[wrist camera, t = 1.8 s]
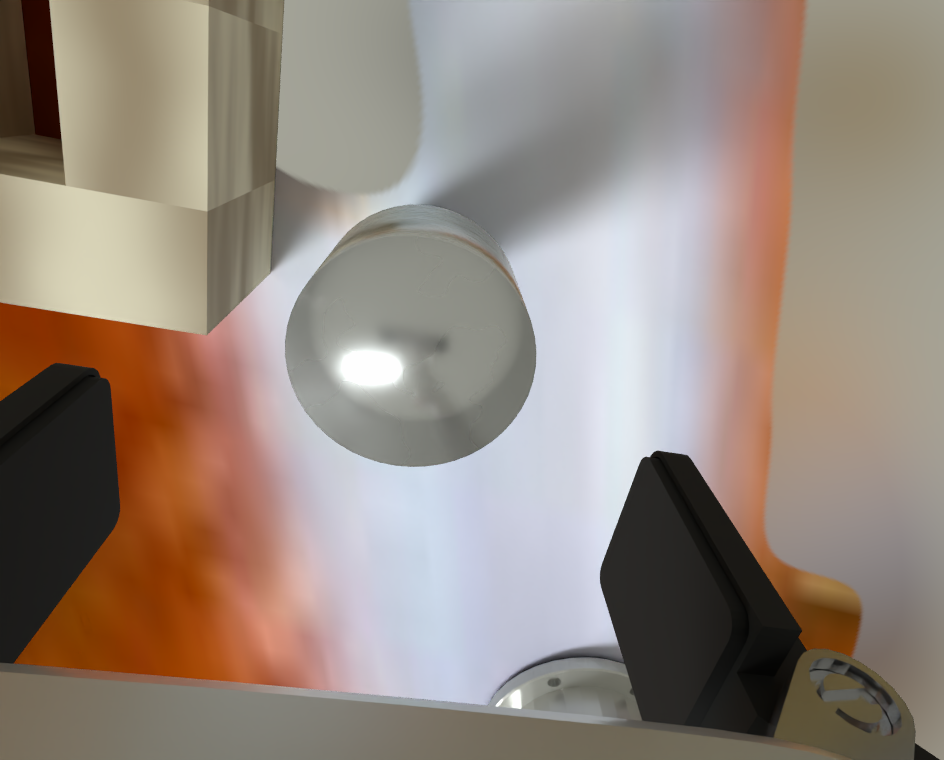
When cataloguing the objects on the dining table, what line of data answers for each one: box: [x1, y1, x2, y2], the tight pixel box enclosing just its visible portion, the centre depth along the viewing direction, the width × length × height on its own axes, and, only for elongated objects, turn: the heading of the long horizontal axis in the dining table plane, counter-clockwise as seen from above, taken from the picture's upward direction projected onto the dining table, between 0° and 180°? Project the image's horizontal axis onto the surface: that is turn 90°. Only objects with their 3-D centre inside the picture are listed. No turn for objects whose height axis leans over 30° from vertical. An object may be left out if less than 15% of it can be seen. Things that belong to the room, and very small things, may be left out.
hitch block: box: [0, 0, 284, 335], centre depth 20 cm, size 14×14×8 cm
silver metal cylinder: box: [285, 205, 536, 467], centre depth 22 cm, size 7×7×12 cm
